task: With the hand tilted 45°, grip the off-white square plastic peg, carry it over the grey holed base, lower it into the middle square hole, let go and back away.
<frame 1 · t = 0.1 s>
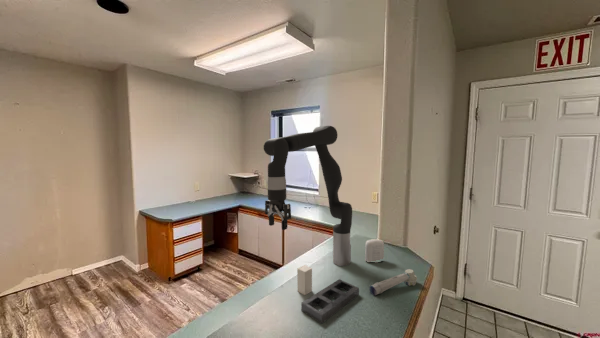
hand: (277, 227, 96), 29 cm above the counter, tool pointing down, fingers open, 8 cm apart
peg: (304, 291, 101), on the counter
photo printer: (374, 261, 130), on the counter
grey knobbed rod: (394, 288, 104), on the counter
grey holed base: (331, 302, 93), on the counter
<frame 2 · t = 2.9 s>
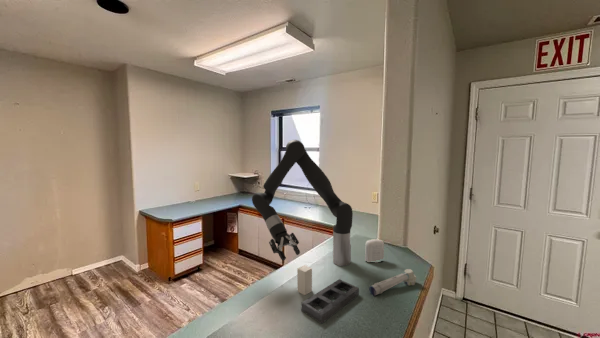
hand: (291, 256, 106), 12 cm above the counter, tool tilted 45°, fingers open, 8 cm apart
nothing on the counter moved.
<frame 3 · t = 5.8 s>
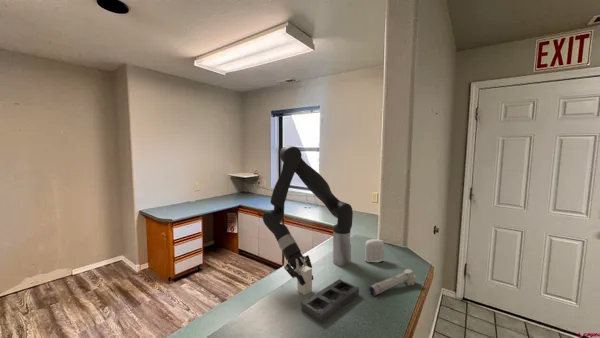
hand: (307, 282, 100), 5 cm above the counter, tool tilted 45°, fingers closed on peg, 4 cm apart
peg: (304, 291, 101), on the counter, touching gripper
everything else where it was.
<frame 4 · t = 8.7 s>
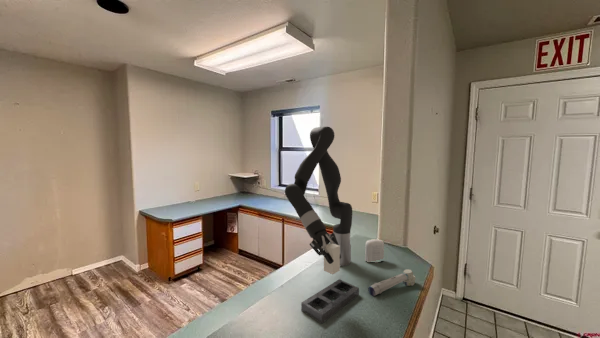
hand: (335, 260, 91), 18 cm above the counter, tool tilted 45°, fingers closed on peg, 4 cm apart
peg: (331, 270, 93), point 13 cm above the counter, touching gripper
everything else where it was.
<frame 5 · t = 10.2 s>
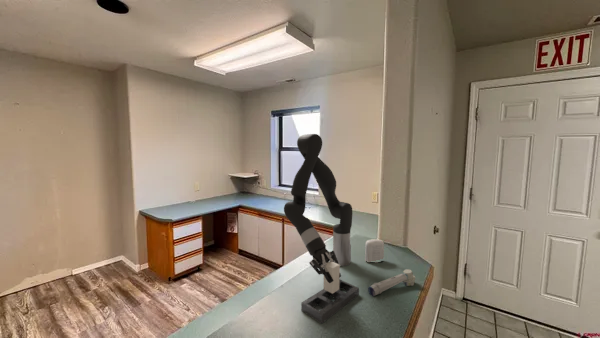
hand: (335, 279, 91), 10 cm above the counter, tool tilted 45°, fingers closed on peg, 4 cm apart
peg: (331, 289, 93), point 5 cm above the counter, touching gripper
everything else where it was.
when the fingers open (6 cm above the counter, at t = 11.7 s): peg stays where it is, resting in grey holed base.
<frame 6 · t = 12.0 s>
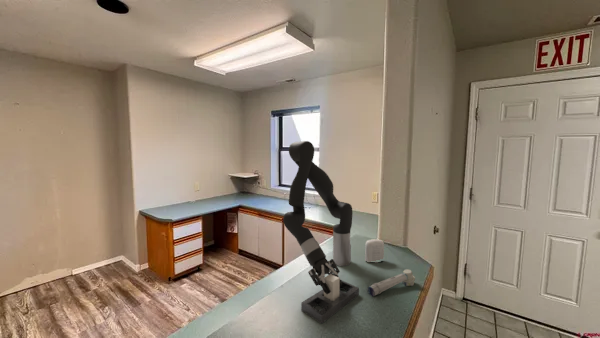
hand: (334, 289, 92), 6 cm above the counter, tool tilted 45°, fingers open, 7 cm apart
peg: (331, 302, 93), resting in grey holed base
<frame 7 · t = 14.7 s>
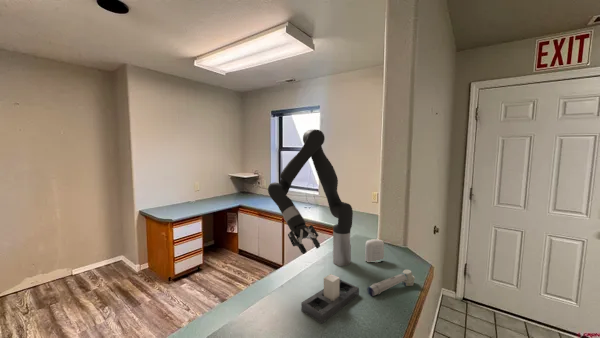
hand: (312, 250, 100), 18 cm above the counter, tool tilted 45°, fingers open, 8 cm apart
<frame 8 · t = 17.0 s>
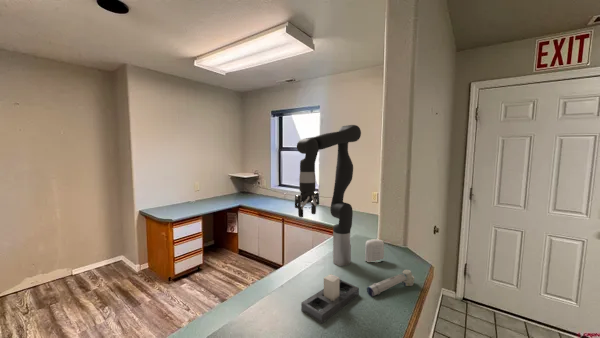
hand: (307, 215, 111), 30 cm above the counter, tool pointing down, fingers open, 8 cm apart
at the end: peg 0.0 cm off-centre on the grey holed base, point 0.0 cm above the grey holed base's base; peg tilted 0°; the gripper is holding nothing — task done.
